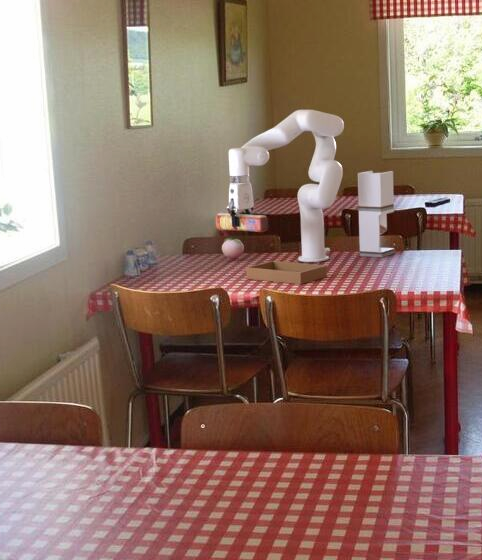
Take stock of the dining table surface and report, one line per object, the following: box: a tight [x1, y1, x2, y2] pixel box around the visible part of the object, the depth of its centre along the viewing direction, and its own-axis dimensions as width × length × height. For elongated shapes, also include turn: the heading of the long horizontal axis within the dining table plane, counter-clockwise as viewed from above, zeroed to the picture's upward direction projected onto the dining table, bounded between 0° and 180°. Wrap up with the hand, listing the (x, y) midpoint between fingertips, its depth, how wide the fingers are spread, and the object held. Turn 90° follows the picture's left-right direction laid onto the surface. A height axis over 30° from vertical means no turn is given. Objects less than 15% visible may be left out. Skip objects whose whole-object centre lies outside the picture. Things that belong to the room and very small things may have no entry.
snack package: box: [215, 212, 269, 233], centre depth 389 cm, size 21×7×7 cm, turn 64°
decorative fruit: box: [221, 236, 245, 261], centre depth 418 cm, size 9×8×10 cm
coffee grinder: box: [357, 170, 396, 258], centre depth 420 cm, size 11×11×35 cm
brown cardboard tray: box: [245, 260, 328, 285], centre depth 375 cm, size 17×26×4 cm, turn 56°
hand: (241, 225), depth 390 cm, fingers closed on snack package, 7 cm apart
